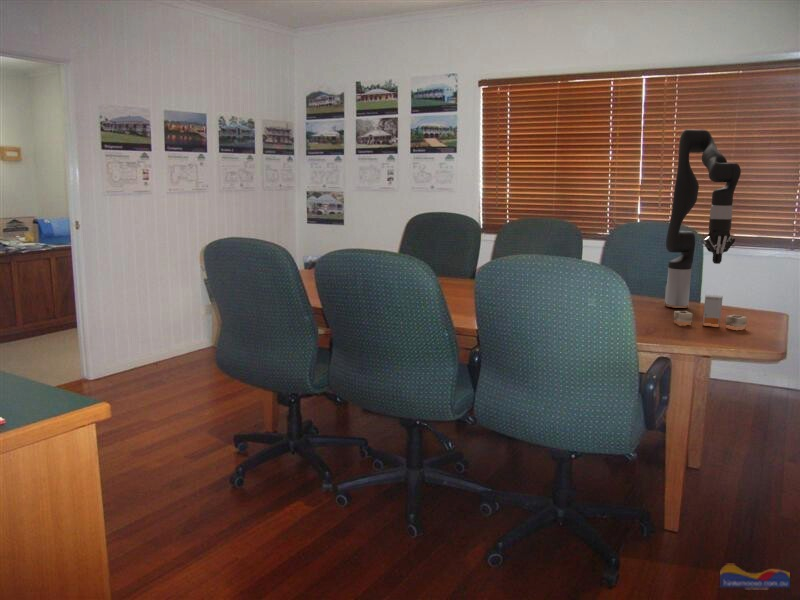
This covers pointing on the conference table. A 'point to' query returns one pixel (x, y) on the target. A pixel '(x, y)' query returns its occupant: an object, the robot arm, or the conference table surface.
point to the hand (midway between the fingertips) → (716, 263)
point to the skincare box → (712, 309)
